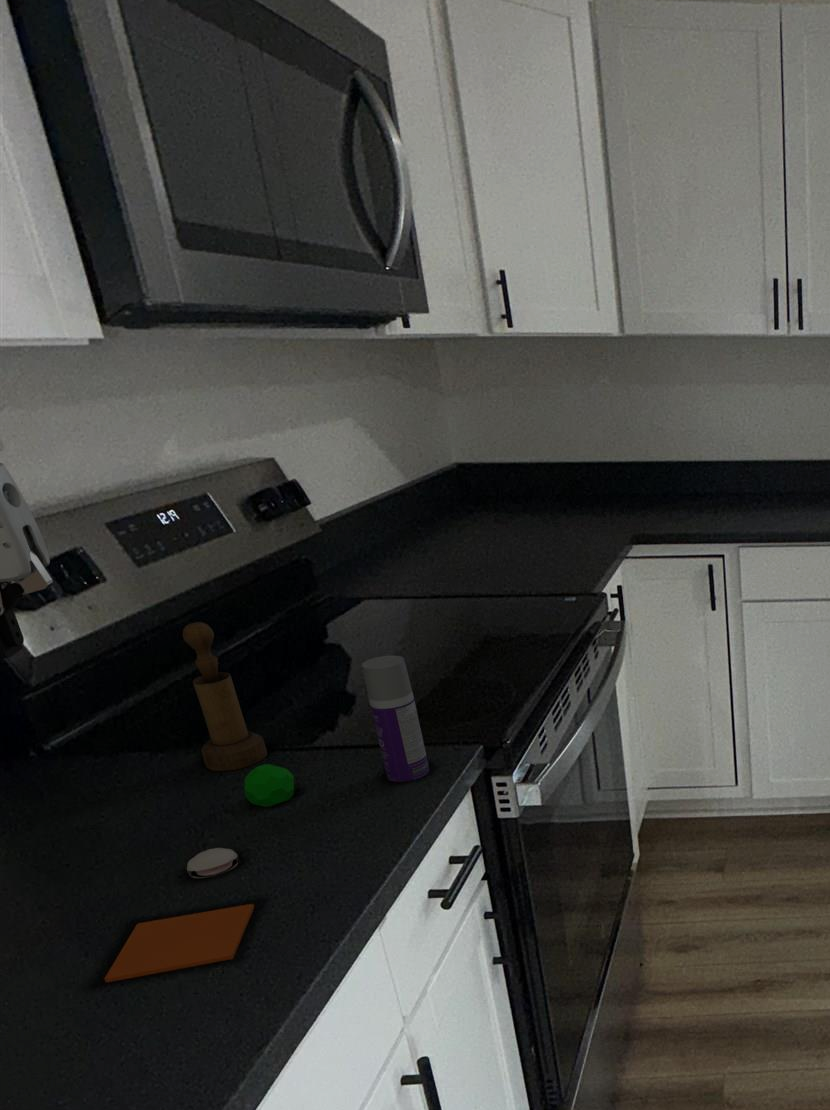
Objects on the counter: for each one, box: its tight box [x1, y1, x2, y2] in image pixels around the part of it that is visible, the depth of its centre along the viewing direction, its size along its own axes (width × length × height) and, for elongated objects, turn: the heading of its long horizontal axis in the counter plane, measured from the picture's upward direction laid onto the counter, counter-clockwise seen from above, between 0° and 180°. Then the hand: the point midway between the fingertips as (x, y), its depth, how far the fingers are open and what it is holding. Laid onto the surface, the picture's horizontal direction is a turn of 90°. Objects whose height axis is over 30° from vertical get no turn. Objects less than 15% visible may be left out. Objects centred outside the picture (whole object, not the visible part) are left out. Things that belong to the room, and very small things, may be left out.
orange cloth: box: [104, 903, 255, 983], centre depth 82 cm, size 10×9×1 cm
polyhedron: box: [244, 763, 295, 808], centre depth 105 cm, size 5×5×5 cm
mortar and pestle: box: [182, 621, 268, 772], centre depth 113 cm, size 7×6×18 cm
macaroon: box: [186, 847, 240, 879], centre depth 93 cm, size 4×5×2 cm
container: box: [361, 655, 430, 783], centre depth 109 cm, size 5×5×15 cm
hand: (4, 653), depth 86 cm, fingers closed
